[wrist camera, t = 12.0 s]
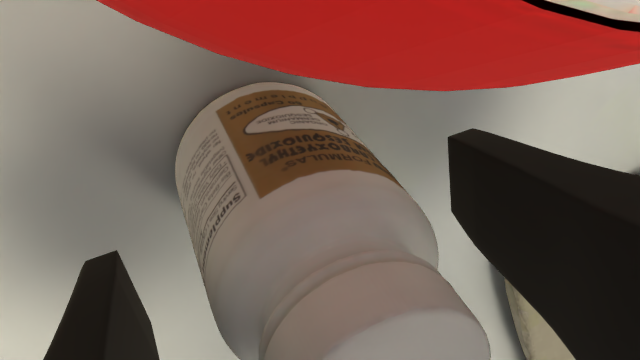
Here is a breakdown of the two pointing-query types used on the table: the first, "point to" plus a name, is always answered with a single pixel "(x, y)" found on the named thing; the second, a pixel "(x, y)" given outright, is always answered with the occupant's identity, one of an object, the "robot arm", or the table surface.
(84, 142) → the table surface
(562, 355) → the decorative slab
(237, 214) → the pill bottle
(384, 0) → the beverage can
